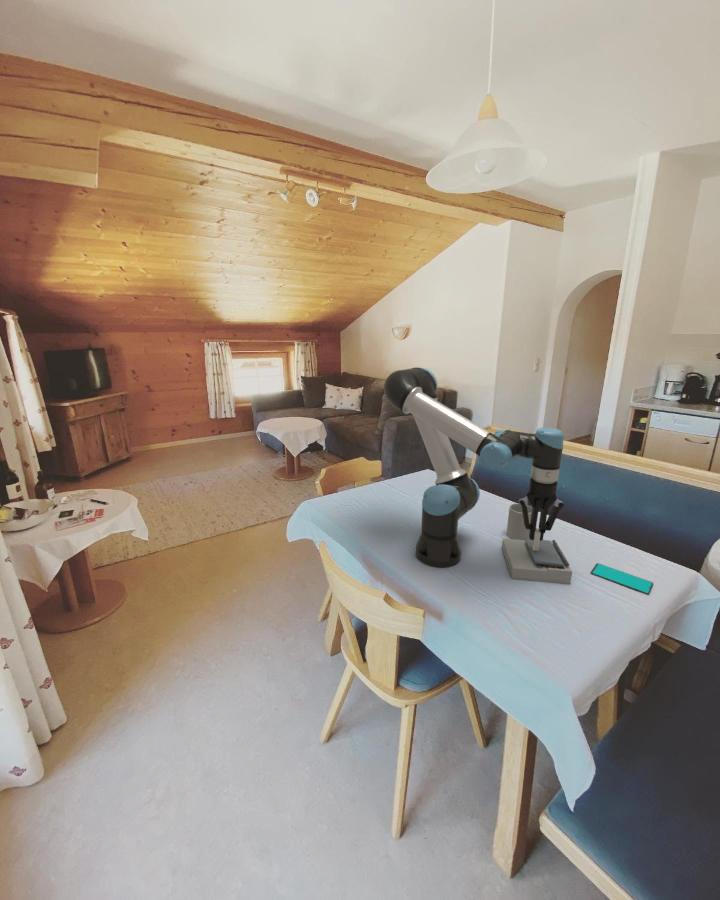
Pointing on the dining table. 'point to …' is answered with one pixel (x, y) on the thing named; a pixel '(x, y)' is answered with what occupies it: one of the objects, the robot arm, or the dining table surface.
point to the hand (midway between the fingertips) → (534, 548)
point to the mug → (518, 522)
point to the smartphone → (622, 578)
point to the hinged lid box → (532, 564)
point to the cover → (547, 553)
